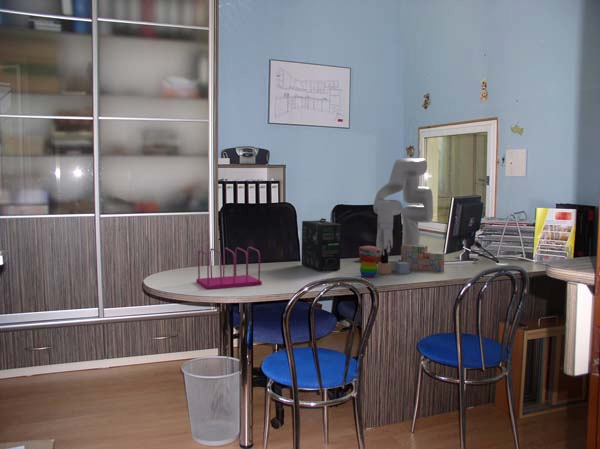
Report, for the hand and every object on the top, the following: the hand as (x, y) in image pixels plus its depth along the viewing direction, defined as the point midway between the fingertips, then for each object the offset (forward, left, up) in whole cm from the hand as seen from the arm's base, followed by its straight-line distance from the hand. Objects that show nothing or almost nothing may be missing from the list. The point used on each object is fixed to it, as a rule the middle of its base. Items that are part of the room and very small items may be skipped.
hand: (384, 263), depth 266 cm
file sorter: (+8, -77, -6) cm, 78 cm away
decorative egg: (+7, -11, -6) cm, 14 cm away
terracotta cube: (0, 0, -5) cm, 5 cm away
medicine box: (-39, +9, -6) cm, 40 cm away
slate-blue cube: (+1, +9, -5) cm, 10 cm away
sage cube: (-8, +7, -5) cm, 12 cm away
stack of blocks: (-9, +25, -6) cm, 27 cm away
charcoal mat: (-4, +4, -5) cm, 8 cm away
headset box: (-24, -26, -6) cm, 36 cm away
